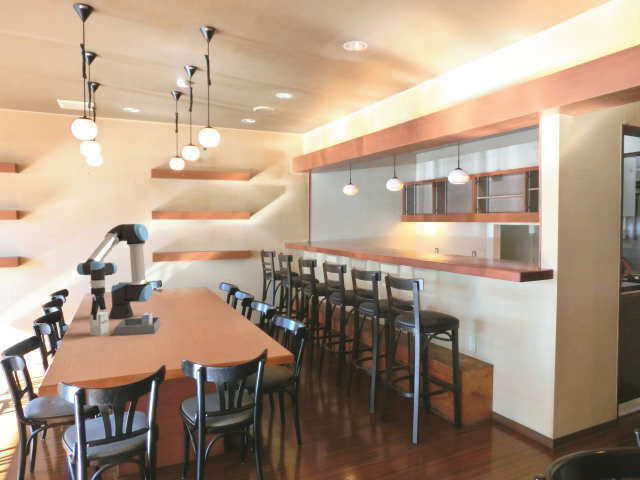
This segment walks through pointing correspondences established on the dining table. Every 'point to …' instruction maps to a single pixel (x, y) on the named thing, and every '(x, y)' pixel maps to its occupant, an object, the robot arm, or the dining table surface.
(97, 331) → the supplement box
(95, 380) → the dining table surface
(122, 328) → the tote
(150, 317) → the medicine box
